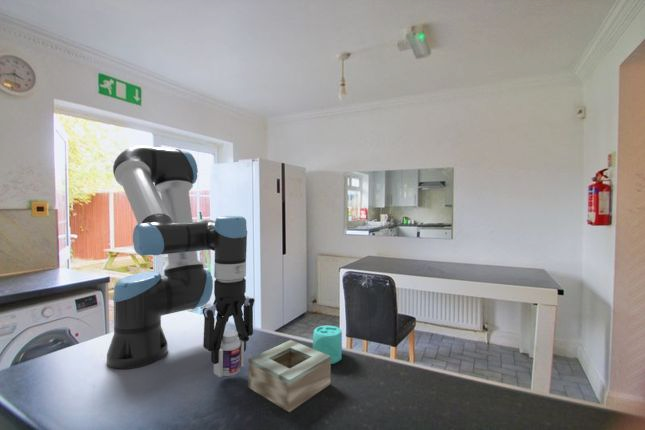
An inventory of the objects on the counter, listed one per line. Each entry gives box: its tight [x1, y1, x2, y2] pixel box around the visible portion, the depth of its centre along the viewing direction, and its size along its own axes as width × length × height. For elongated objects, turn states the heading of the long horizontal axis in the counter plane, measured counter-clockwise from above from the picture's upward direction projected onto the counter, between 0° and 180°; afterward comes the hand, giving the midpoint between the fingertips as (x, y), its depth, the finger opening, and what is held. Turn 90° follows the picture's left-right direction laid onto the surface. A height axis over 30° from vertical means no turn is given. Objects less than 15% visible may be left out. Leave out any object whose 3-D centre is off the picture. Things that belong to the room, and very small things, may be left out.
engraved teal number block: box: [312, 324, 343, 365], centre depth 90 cm, size 8×8×8 cm
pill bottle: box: [220, 329, 241, 377], centre depth 79 cm, size 5×5×10 cm
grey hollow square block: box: [248, 339, 332, 413], centre depth 76 cm, size 14×14×7 cm
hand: (229, 369), depth 79 cm, fingers closed on pill bottle, 5 cm apart
